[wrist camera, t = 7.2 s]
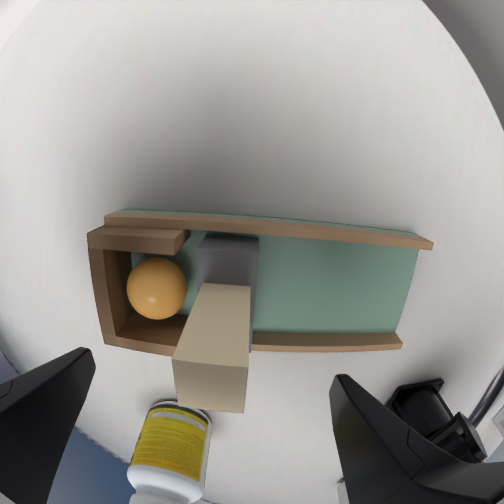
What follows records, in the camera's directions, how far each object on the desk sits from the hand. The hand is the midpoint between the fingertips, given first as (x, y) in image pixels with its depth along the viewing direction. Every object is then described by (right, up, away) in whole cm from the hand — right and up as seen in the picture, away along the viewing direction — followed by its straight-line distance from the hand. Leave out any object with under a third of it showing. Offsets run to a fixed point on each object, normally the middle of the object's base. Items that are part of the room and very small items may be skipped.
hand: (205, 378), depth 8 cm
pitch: (+3, +3, +9) cm, 10 cm away
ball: (-6, +2, +6) cm, 9 cm away
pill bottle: (-5, -12, +14) cm, 19 cm away
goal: (-5, +3, +9) cm, 11 cm away
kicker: (0, +2, +8) cm, 8 cm away
